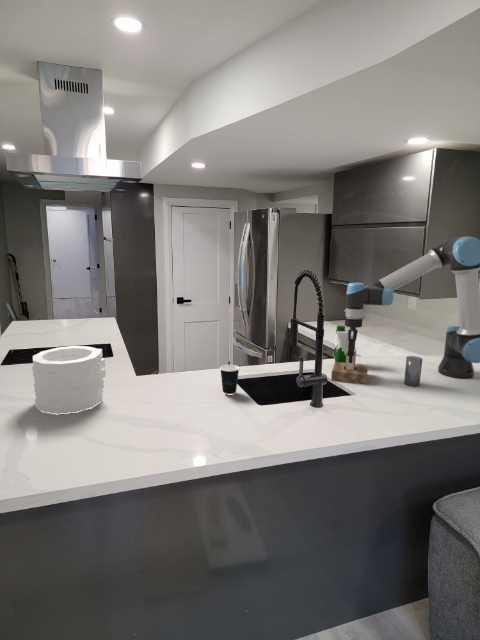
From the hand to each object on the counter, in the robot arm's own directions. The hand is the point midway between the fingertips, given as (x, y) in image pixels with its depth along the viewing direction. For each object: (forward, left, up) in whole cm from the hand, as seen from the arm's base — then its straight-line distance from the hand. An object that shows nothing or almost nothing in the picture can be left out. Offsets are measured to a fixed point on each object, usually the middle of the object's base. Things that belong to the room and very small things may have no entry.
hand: (350, 367), depth 188 cm
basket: (+98, +67, -5) cm, 119 cm away
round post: (-26, -1, -5) cm, 27 cm away
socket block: (0, 0, -5) cm, 5 cm away
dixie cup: (+45, +38, -5) cm, 59 cm away
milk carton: (+5, -18, -5) cm, 19 cm away
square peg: (0, 0, -5) cm, 5 cm away
